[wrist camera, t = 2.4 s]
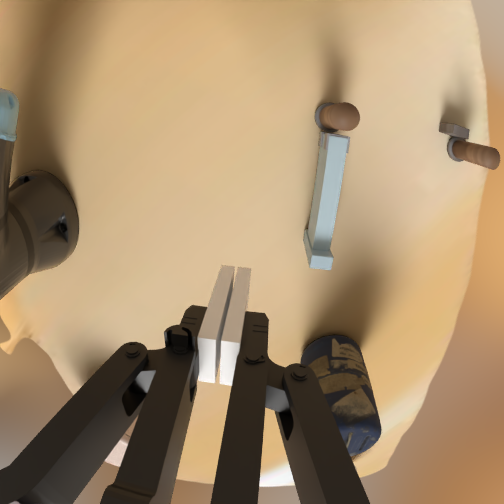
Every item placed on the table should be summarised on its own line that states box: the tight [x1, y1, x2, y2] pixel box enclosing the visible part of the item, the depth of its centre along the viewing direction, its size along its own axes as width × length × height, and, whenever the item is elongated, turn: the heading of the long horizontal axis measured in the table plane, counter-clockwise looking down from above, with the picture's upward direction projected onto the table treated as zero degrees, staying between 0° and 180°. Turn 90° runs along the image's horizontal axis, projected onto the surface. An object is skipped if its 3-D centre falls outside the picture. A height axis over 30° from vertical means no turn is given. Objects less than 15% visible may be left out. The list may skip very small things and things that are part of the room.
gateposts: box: [315, 102, 500, 170], centre depth 27 cm, size 21×4×8 cm, turn 85°
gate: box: [303, 132, 350, 270], centre depth 31 cm, size 13×2×8 cm, turn 175°
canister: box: [301, 335, 381, 457], centre depth 37 cm, size 10×10×18 cm
